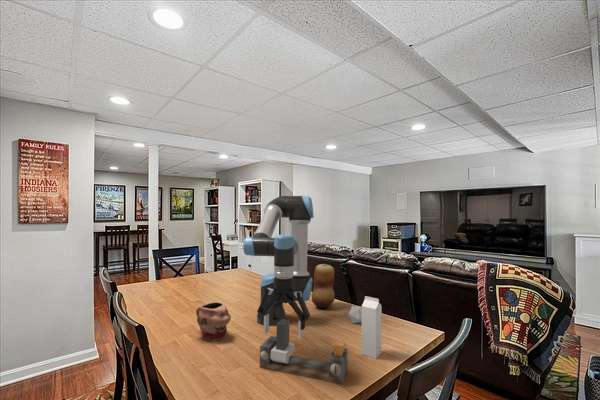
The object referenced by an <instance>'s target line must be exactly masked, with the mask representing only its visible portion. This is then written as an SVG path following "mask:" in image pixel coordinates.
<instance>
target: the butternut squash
mask: <svg viewBox="0 0 600 400" xmlns="http://www.w3.org/2000/svg"><path fill="white" fill-rule="evenodd" d="M314 269H315V270H314V274H313V283H314V284H313V285H314V286H313V290H312V291H311V295H310V297H311V301H312V304H313V305H314V306H315V307H316V308H319V309H328V307H330V306H331V305H332V304H333V302H335V291H334V289H333V288H334V282H335V268H334V267H333V266H331V265H330V264H325V263H322V264H317V265H316V266H315V268H314Z"/></svg>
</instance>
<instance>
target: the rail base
mask: <svg viewBox="0 0 600 400" xmlns="http://www.w3.org/2000/svg"><path fill="white" fill-rule="evenodd" d="M275 345H276V335H275V336H274V335H269V337H268V338H267V339H265V340H264V342H262V344H261V345H259V368H262V369H267V370H272V371H277V372H282V373H286V374H290V375H291V374H292V375H296V376H300V377H305V378H310V379H315V380H319V381H325V382H328V383H332V384H333V383H334V384H338V383H339V384H338V385H342V384H344V382H345V379H346V376H347V372H348V348H346V347H344V354H343V356H336V355H334V349H332V352H331V354H330V357H328V358H329V360H328V361H329V362H328V361H324V360H319V359H318V360H317V359H313V358H307V357H301V356H297V355H293V356H290V358H289V362H288V364H286V363H281V362H276V361H272V359H271V350H272V349H273V347H274V346H275Z"/></svg>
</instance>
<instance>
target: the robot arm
mask: <svg viewBox="0 0 600 400" xmlns="http://www.w3.org/2000/svg"><path fill="white" fill-rule="evenodd" d="M314 215H315V214H314V206H313V200H312V198H311V196H307V195H280V196H278V197H275V198H274V199H272V200H270V202H269V203H267V205H266V206H265V207H264V210H263V215H262V218H261V220H260V222H259V225H258V226H257V228H256V230H255V232H254V234H253V236H248V237H245V238H244V240H243V245H242V249H243V253H244V255H245V256H253V257H273V273H270V274H269V273H268V274H266V275H265V274H264V276H262V277H261V280H260V303H259V306H258V309H257V310H256V312H257V314H256V322H257V323H258V324H260V325H262V326H263V335H267V333H269V332H270V331H269V330H270V328H269V327H270V326H277V323H278V322H279V321H280V320H281V319H285V320H287V314H286V311H285V307H284V304H288V305H289V306H290V307H291V308H292V310H293V311H294V314H296V316H298V318H299V320H298V323H297V324H298V327H297V333H298V334H297V335H298V336H297V339H298V340H300V341H301V340H302V338H303V332H304V330H305V328H306V320H309V319H310V318H311V313H310V311H309V309H308V306H307V305H306V302H308V301H309V300H310V298H311V295H312V287H313V282H314V278H312V277H311V275H310V273H309V271H308V243H309V241H308V238H309V237H308V236H309V234H308V233H309V232H308V231H309V230H308V228H309V227H308V226H309V224H310V223H311V222H312V219H314V217H315V216H314ZM282 218H286V219H287V218H288V222H289V223H290V224H291V234H277V235H275V236H274V237H272V236H273V234H274V232H275V229H276V227H277V225H278V222H279V221H280V220H281V219H282ZM297 302H298V303H297ZM298 304H299V305H298Z"/></svg>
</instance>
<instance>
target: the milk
mask: <svg viewBox="0 0 600 400" xmlns="http://www.w3.org/2000/svg"><path fill="white" fill-rule="evenodd" d="M382 306H383V305H382V304H381V303H380V299H379V298H376V297H371V296H367V295H366V296H364V300H363V303H362V304H361V307H362V323H361V355H363V356H366V357H370V358H371V359H375V360H376V359H377V358H378V357H379V356H380V355H381V354H382V352H383V351H382V348H383V347H382V341H383V340H382V326H383V325H382V313H383V312H382Z"/></svg>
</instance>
